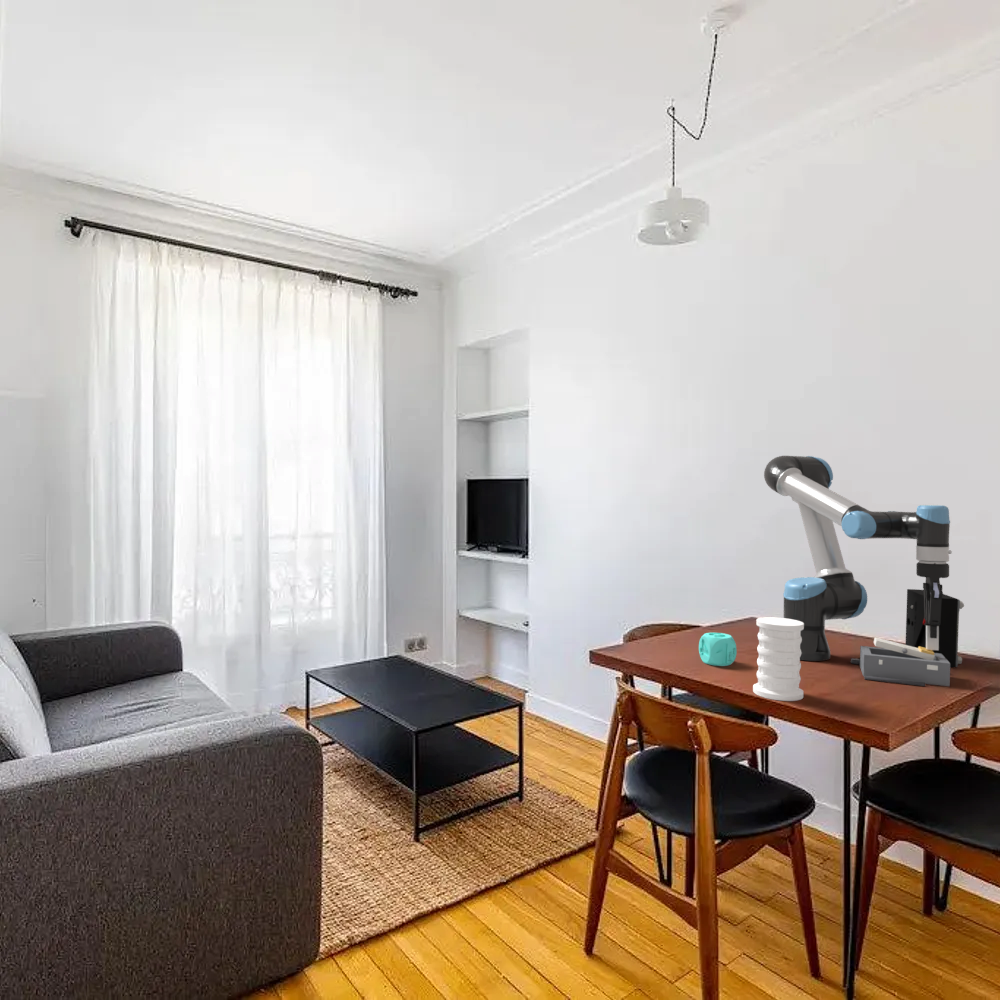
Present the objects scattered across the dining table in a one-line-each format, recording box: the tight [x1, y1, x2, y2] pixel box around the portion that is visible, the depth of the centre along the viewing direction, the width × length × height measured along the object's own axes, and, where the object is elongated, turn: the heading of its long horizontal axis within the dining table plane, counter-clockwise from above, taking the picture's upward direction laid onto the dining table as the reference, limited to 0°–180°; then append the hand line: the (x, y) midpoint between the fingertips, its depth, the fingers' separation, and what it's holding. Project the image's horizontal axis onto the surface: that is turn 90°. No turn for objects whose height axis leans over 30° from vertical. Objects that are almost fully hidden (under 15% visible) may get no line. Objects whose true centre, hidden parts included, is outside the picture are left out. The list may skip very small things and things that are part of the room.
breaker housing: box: [859, 645, 951, 687], centre depth 190 cm, size 20×12×6 cm, turn 67°
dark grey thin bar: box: [863, 676, 926, 687], centre depth 183 cm, size 14×1×1 cm, turn 67°
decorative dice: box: [698, 632, 738, 667], centre depth 201 cm, size 8×8×8 cm
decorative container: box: [752, 616, 804, 702], centre depth 171 cm, size 12×12×18 cm
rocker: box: [873, 636, 935, 660], centre depth 190 cm, size 14×6×2 cm, turn 67°
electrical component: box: [904, 588, 965, 668], centre depth 209 cm, size 18×10×20 cm, turn 168°
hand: (932, 649), depth 187 cm, fingers closed
